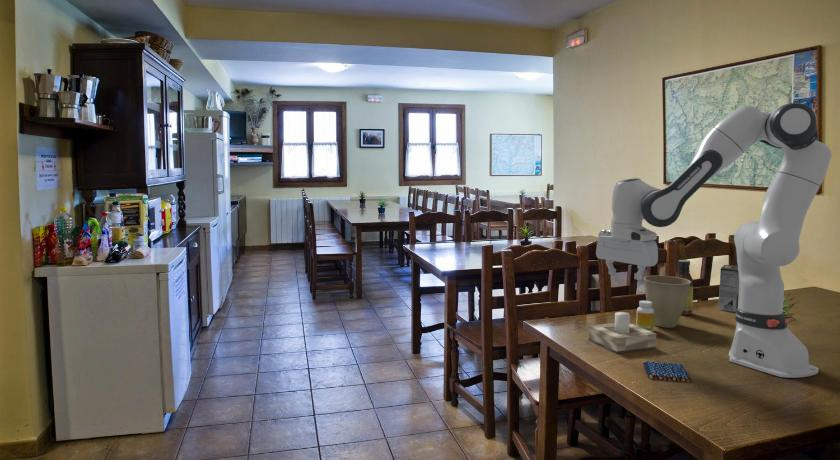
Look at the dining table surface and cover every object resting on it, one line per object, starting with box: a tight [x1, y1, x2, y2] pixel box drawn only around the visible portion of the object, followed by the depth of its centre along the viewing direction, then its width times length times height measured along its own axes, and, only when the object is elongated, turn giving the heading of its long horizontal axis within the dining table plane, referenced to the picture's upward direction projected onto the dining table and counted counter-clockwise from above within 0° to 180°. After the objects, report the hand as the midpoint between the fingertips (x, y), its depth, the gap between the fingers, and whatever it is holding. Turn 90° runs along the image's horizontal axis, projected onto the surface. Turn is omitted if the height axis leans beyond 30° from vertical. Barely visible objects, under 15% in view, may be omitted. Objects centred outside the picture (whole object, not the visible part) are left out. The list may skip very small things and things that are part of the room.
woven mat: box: [643, 361, 691, 383], centre depth 159 cm, size 10×11×2 cm
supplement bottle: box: [635, 300, 654, 332], centre depth 198 cm, size 5×5×10 cm
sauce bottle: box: [675, 259, 694, 316], centre depth 219 cm, size 6×6×20 cm
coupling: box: [614, 311, 631, 335], centre depth 183 cm, size 7×4×9 cm, turn 128°
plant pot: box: [643, 275, 691, 328], centre depth 204 cm, size 15×15×16 cm
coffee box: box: [717, 264, 739, 313], centre depth 226 cm, size 9×6×16 cm
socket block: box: [588, 322, 657, 354], centre depth 183 cm, size 14×14×5 cm
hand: (624, 276), depth 181 cm, fingers open, 8 cm apart
